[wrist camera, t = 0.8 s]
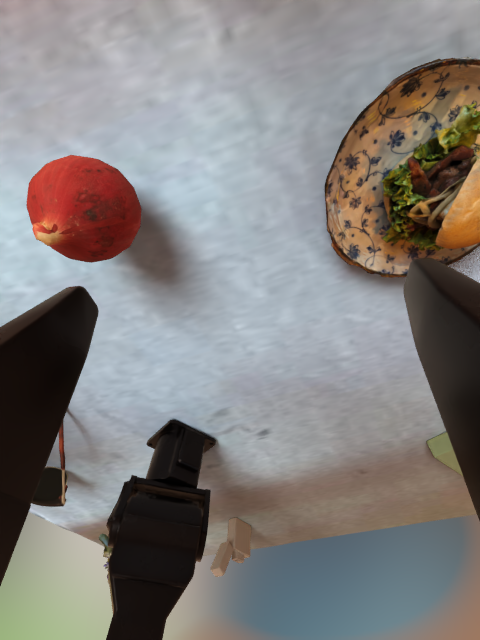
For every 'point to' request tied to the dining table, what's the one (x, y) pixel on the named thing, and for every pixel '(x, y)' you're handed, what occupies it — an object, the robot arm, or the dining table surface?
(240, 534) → the lighter
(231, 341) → the dining table surface
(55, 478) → the sunglasses
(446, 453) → the riser block
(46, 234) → the onion
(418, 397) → the dining table surface
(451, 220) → the wood slice pumpkin decoration
